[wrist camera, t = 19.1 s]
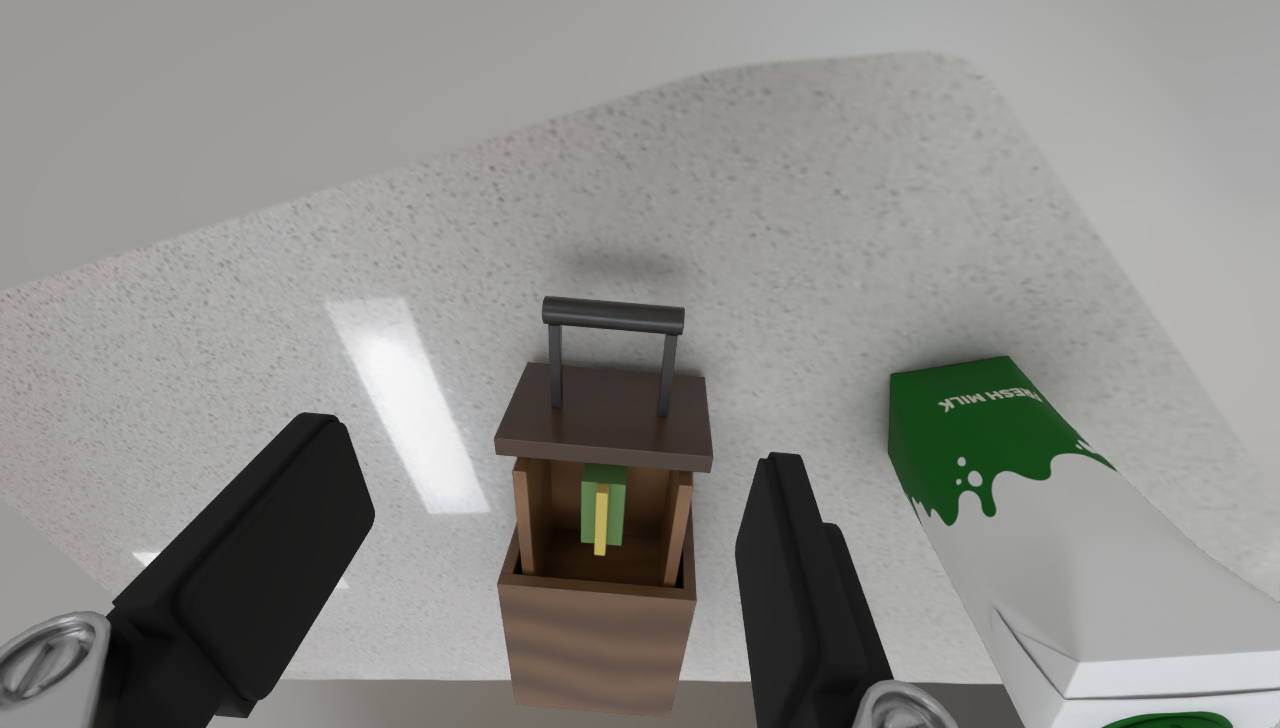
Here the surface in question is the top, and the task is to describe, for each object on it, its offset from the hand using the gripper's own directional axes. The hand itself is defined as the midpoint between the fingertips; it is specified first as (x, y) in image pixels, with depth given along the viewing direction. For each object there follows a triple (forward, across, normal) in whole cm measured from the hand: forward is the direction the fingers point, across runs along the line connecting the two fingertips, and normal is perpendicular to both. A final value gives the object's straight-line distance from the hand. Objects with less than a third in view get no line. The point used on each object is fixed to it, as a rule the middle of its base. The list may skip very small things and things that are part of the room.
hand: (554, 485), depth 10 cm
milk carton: (+20, -22, +11) cm, 32 cm away
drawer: (+19, 0, +14) cm, 24 cm away
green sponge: (+18, 0, +16) cm, 24 cm away
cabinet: (+20, 0, +30) cm, 36 cm away
